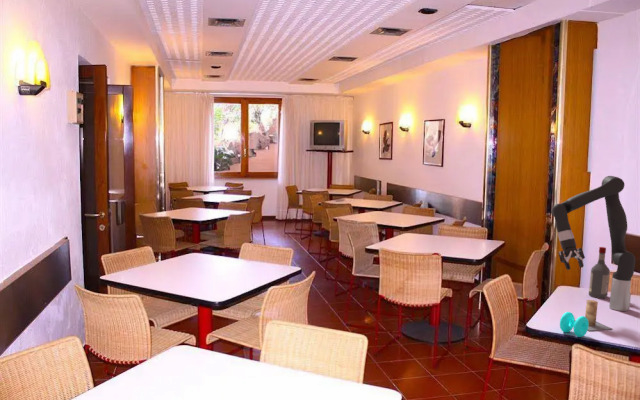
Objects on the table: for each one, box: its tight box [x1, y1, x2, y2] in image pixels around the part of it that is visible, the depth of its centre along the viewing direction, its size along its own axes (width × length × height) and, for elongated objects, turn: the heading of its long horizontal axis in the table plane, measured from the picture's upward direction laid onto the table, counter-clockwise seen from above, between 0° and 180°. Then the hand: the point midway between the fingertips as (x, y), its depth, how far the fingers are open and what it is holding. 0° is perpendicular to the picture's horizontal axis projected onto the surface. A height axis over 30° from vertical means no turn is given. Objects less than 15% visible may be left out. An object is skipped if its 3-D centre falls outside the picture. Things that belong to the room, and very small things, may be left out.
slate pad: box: [575, 319, 613, 332], centre depth 277 cm, size 14×14×1 cm
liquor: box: [588, 246, 611, 299], centre depth 329 cm, size 9×9×30 cm
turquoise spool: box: [559, 311, 589, 338], centre depth 263 cm, size 10×10×10 cm
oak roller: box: [584, 299, 599, 326], centre depth 276 cm, size 5×5×12 cm
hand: (575, 268), depth 296 cm, fingers open, 8 cm apart
